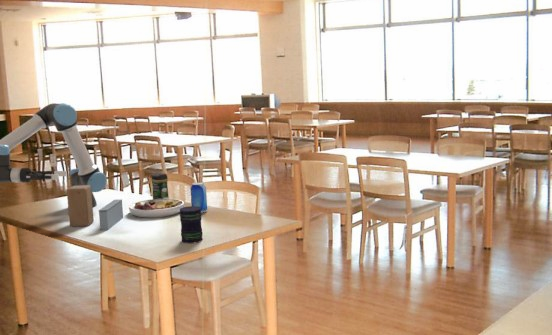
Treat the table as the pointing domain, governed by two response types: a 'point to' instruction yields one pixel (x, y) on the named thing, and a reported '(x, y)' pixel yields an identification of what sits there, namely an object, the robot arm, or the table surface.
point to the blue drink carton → (199, 196)
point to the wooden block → (80, 205)
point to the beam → (110, 214)
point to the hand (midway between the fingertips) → (62, 175)
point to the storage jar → (191, 224)
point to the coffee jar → (160, 186)
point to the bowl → (156, 208)
